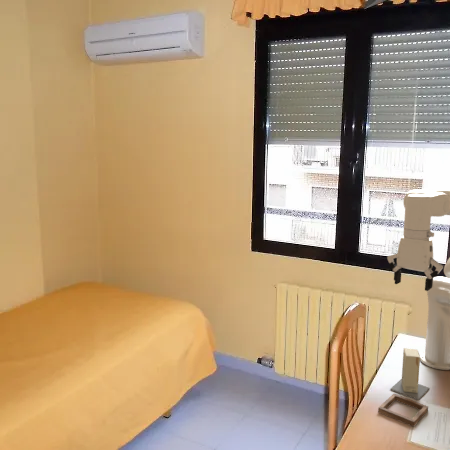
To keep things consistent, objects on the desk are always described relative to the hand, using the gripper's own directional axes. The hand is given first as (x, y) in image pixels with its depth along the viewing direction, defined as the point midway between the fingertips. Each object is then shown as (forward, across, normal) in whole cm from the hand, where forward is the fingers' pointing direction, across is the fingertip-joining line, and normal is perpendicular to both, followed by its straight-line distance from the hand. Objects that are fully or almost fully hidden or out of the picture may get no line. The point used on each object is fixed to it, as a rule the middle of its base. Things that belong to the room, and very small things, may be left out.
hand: (412, 286), depth 152 cm
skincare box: (+33, -3, +3) cm, 33 cm away
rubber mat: (+33, -3, +4) cm, 34 cm away
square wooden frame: (+33, -6, +17) cm, 38 cm away
